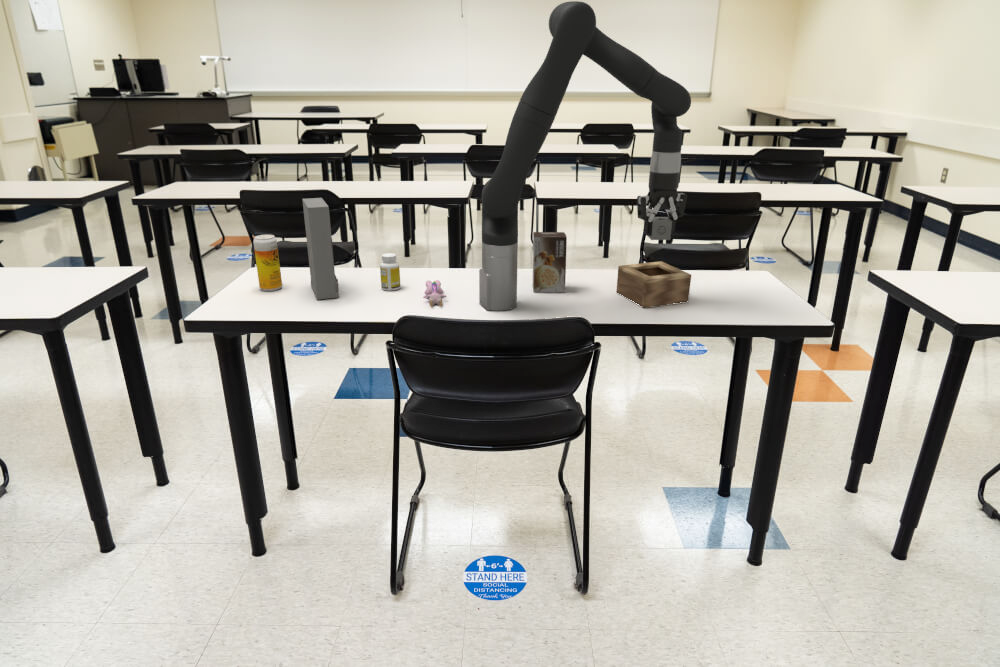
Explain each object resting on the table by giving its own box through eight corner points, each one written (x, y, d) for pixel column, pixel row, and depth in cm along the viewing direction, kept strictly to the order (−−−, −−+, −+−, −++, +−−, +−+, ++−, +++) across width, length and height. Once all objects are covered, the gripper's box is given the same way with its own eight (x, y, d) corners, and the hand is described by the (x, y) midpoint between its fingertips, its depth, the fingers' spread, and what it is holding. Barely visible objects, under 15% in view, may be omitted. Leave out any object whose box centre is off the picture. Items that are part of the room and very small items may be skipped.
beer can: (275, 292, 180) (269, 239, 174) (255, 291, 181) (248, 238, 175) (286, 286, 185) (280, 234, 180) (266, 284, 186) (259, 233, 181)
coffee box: (563, 286, 187) (565, 231, 181) (565, 293, 181) (567, 237, 175) (531, 285, 187) (533, 231, 181) (532, 292, 181) (534, 236, 175)
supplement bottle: (402, 285, 187) (400, 252, 183) (398, 291, 182) (397, 257, 178) (383, 285, 187) (381, 252, 183) (379, 291, 182) (377, 257, 178)
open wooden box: (643, 308, 170) (646, 280, 167) (616, 292, 182) (618, 265, 179) (688, 302, 175) (691, 274, 172) (658, 287, 187) (661, 261, 184)
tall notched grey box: (340, 298, 176) (331, 206, 167) (317, 300, 174) (307, 208, 164) (332, 283, 188) (324, 197, 178) (311, 285, 186) (301, 198, 176)
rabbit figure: (448, 311, 171) (443, 286, 183) (447, 291, 168) (443, 266, 180) (424, 313, 170) (421, 286, 182) (423, 292, 167) (420, 267, 179)
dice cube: (651, 239, 169) (652, 221, 167) (647, 235, 173) (648, 216, 172) (670, 239, 169) (672, 220, 167) (665, 235, 174) (667, 216, 172)
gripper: (648, 173, 159) (642, 239, 165) (697, 170, 164) (690, 235, 170) (632, 169, 166) (627, 233, 172) (680, 166, 170) (674, 229, 176)
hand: (659, 234), depth 171 cm, fingers closed on dice cube, 6 cm apart
